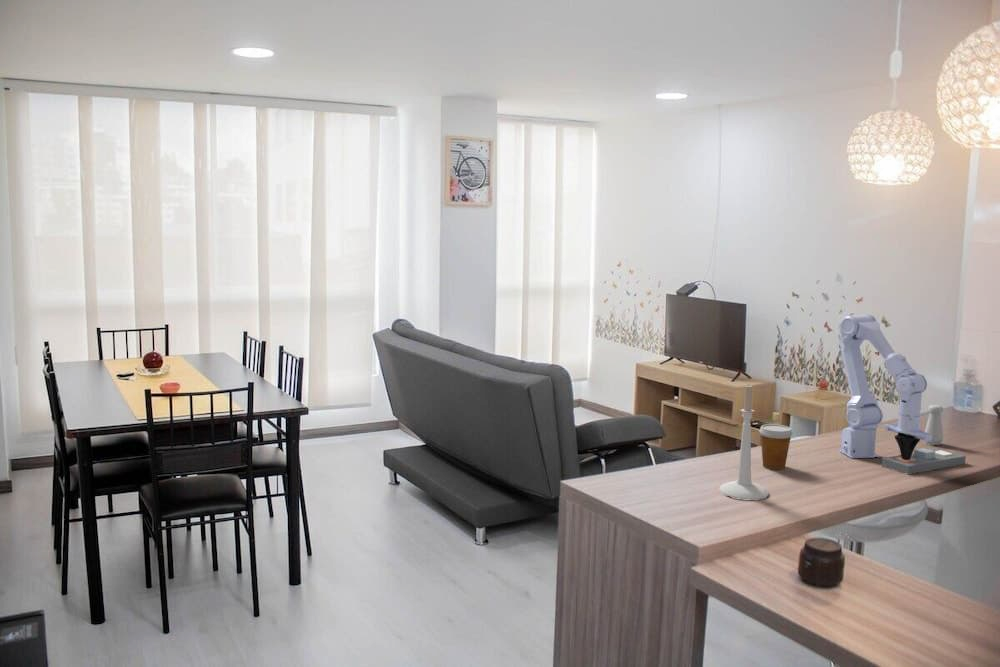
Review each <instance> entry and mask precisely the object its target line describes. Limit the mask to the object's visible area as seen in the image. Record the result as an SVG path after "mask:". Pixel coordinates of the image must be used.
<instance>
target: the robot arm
mask: <svg viewBox="0 0 1000 667" xmlns="http://www.w3.org/2000/svg"><path fill="white" fill-rule="evenodd" d="M880 325H881V324H880V323H879V322H878V321H877V319H876V317H874V315H872V314H862V315H846V316H844V317H843V318H842V319H841V321H840V322H839V324H838V330H839V334H840V340H839V345H840V350H841V355H842V360H843V364H844V368H845V373H846V378H847V383H848V387H849V393H850V397H851V398H850V400H849V401H848V402H847V404H846V421H847V423H848V424H849V426H848V427H844V428H843V429H842V431H841V439H840V440H841V441H840V449H839V452H840V453H842V454H844V455H846V456H848V457H849V458H851V459H869V458H871V459H872V458H874V459H875V457H877V458H881V455H879V454H877V453H875V452H876V438H877V428H879V424H880V423H881V422H882V421H883V418H884V416H883V415H884V414H883V411H882V409H881V408H880V407H881V406H879V404H878V400H877V399H876V398H875V397H873V396H872V395H871V392H870V388H869V384H868V378H867V373H866V370H865V369H866V368H865V365H864V360H863V356H862V352H861V351H862V350H861V345H862V344H863V342H864V341H865V340H866V341H868V342H869V343H870V344H871V345H872V346H873V347H874V348H875V349H876V351H878V353H879V354H880V356H881V357H882V358H883V359H884V362H883V365H884V367H885V368H886V369H887V371H888V372H889V373H890V375H891V376H892V377H893V379H894V380H895V382H896V383H895V387H896V390H897V392H898V398H899V404H898V418H897V424H895V423H885V424H884V425H885V426H884V430H885V431H887V432H888V431H889V432H893V433H896V435H894V439H895V441H896V443H897V445H898V448H899V451H900V455H901V457H902V459H904V460H909V459H910V458H911V455H912V453H914V450H915V448H916V447H917V445H918V444H919V442H920V441H921V440H923V441H925V443H926V442H928V441H932V434H929V433H926V432H925V431H923V430H921V428H920V423H921V421H920V419H921V409H922V397H923V396H922V395H923V393H924V392H925V391H926V390H927V387H928V381H927V379H926V377H925V375H924V374H922V373H919V372H917V371H916V370H915V369H914V368H913V367H912V366H911V365H910V363H909V362H908V361H907V358H906V356H905V355H902V353H897V352H895V350H894V348H893V347H892V346H891V345H890V343H889V341H888V339H887V338H886V337H885V335H884V334H883V332H882V330H881V328H880Z"/></svg>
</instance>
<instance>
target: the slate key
mask: <svg viewBox="0 0 1000 667" xmlns="http://www.w3.org/2000/svg"><path fill="white" fill-rule="evenodd" d="M932 450H933V449H928V448H924V447H923V448H916V449H914V450H913V453H914V457H917V458H920V459H924V460H929V459H935V451H932Z"/></svg>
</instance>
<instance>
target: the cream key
mask: <svg viewBox="0 0 1000 667" xmlns="http://www.w3.org/2000/svg"><path fill="white" fill-rule="evenodd" d="M935 454H936V455H939V456H943V457H947V456H952V455H953V454H952V453H949V452H945V451H942V450H940V451H935Z"/></svg>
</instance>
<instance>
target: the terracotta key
mask: <svg viewBox="0 0 1000 667" xmlns="http://www.w3.org/2000/svg"><path fill="white" fill-rule="evenodd" d="M895 460H898V461H901V462H904V463H912V462H916V460H915V459H912V458H910V459H909V460H904V459H902V457H898V458H895Z"/></svg>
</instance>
